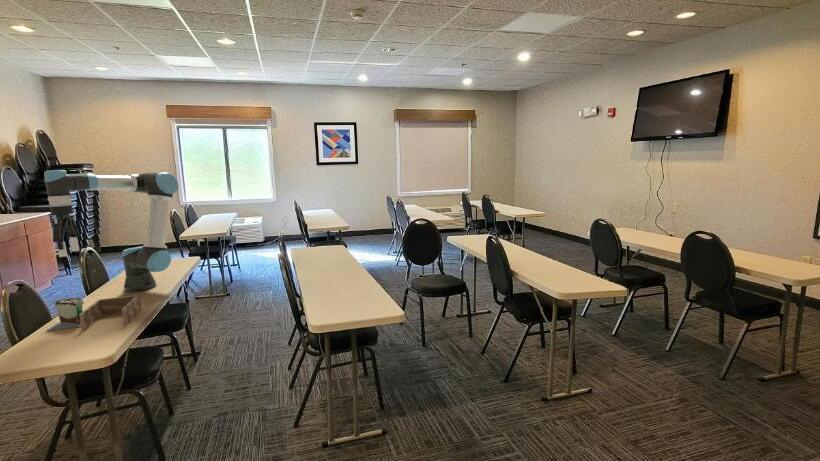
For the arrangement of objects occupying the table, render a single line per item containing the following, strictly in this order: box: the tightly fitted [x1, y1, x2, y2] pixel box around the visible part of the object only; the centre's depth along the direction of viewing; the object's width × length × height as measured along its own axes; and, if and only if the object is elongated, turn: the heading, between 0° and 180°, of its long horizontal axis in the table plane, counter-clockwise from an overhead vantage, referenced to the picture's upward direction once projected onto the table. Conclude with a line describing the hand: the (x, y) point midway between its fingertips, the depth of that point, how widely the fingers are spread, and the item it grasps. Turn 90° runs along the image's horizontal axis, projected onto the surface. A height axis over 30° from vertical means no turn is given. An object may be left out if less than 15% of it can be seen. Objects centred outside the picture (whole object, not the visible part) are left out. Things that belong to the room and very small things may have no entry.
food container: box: [54, 296, 85, 324], centre depth 180 cm, size 12×6×10 cm, turn 78°
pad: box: [45, 321, 81, 332], centre depth 178 cm, size 9×14×1 cm, turn 108°
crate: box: [79, 294, 142, 331], centre depth 182 cm, size 20×16×7 cm
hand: (69, 253), depth 184 cm, fingers open, 11 cm apart
